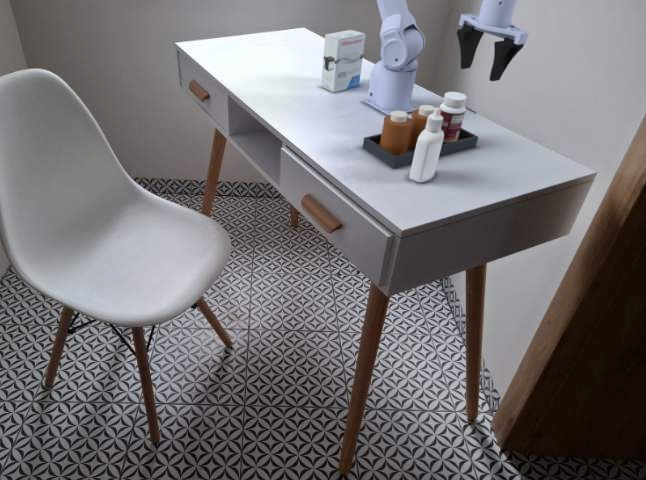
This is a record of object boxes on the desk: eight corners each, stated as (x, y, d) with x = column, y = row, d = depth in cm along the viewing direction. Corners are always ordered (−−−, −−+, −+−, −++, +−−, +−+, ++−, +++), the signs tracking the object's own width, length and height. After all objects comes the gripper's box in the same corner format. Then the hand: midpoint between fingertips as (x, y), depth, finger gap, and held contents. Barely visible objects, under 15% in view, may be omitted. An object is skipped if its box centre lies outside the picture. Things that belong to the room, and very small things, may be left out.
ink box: (345, 80, 126) (351, 28, 119) (359, 86, 123) (367, 33, 116) (319, 86, 122) (324, 33, 114) (333, 93, 119) (339, 38, 112)
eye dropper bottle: (442, 180, 88) (460, 111, 81) (414, 184, 87) (430, 115, 79) (428, 168, 92) (445, 101, 84) (401, 172, 90) (415, 105, 82)
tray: (362, 147, 97) (363, 137, 96) (442, 129, 105) (444, 119, 104) (393, 168, 91) (395, 157, 90) (475, 147, 99) (478, 136, 98)
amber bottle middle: (400, 142, 98) (407, 104, 94) (420, 137, 100) (428, 100, 96) (418, 152, 95) (426, 114, 90) (438, 147, 97) (447, 110, 92)
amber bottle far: (373, 148, 96) (379, 110, 91) (394, 143, 98) (401, 106, 93) (390, 159, 92) (397, 121, 88) (411, 154, 94) (419, 116, 90)
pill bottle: (427, 134, 101) (437, 92, 96) (447, 131, 103) (458, 89, 97) (441, 145, 98) (452, 101, 92) (462, 141, 99) (474, 98, 94)
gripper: (550, 2, 88) (523, 82, 97) (486, -14, 98) (467, 60, 107) (521, 6, 86) (497, 88, 94) (459, -11, 95) (441, 65, 104)
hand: (479, 74), depth 100 cm, fingers open, 7 cm apart
